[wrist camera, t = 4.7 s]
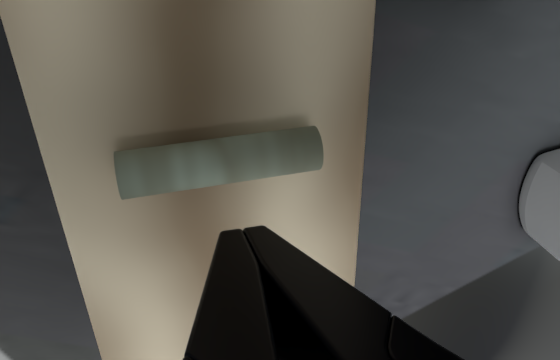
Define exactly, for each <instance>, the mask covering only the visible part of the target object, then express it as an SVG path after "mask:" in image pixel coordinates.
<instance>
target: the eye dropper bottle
mask: <svg viewBox="0 0 560 360" xmlns="http://www.w3.org/2000/svg"><path fill="white" fill-rule="evenodd" d="M519 215H520V220H521V224H522V226H523V228H524V230H525V232H526V233H527V234H528V235H529V236H531V237H532V238H533V239H534V240H535V241H536V242H538V243H539V244H540V245H541V246H542V247H544V248H545V249H546V250H547V251H548V252H550V253H551V254H552V255H553V256H554V257H555V258H556V259H558V260H559V261H560V149H557V150H553V151H549V152H546V153H543V154H541V155H539V156H538V157H537V158H536V159H535V160H534V161H533V163H532V165H531V166H530V168H529V170H528V173H527V175H526V177H525V180H524V182H523V185H522V189H521V193H520V198H519Z"/></svg>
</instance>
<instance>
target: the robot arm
mask: <svg viewBox="0 0 560 360" xmlns="http://www.w3.org/2000/svg"><path fill="white" fill-rule="evenodd" d="M183 360H464V359H462V358H461V357H459V356H458V355H456V354H454V353H452V352H451V351H449V350H447V349H446V348H444V347H442V346H441V345H439V344H437V343H436V342H434V341H433V340H431V339H430V338H428V337H427V336H425V335H424V334H422V333H420V332H419V331H417V330H416V329H414V328H413V327H411V326H410V325H408V324H407V323H406V322H404V321H403V320H401V319H400V318H398V317H397V316H392V313H391V312H389V311H388V310H386V309H385V308H383V307H382V306H381V305H379V304H378V303H376V302H375V301H373V300H372V299H370V298H369V297H368V296H366V295H365V294H363V293H362V292H360V291H359V290H357V289H356V288H354V287H353V286H352V285H350V284H349V283H347V282H346V281H344V280H343V279H341V278H340V277H339V276H337V275H336V274H334V273H333V272H331V271H330V270H328V269H327V268H325V267H324V266H323V265H321V264H320V263H318V262H317V261H315V260H314V259H312V258H311V257H309V256H308V255H307V254H305V253H304V252H302V251H301V250H299V249H298V248H296V247H295V246H294V245H292V244H291V243H289V242H288V241H286V240H285V239H283V238H282V237H280V236H279V235H278V234H276V233H275V232H273V231H272V230H270V229H269V228H267V227H266V226H263V225H261V226H254V227H246V228H244V229H243V231H242V230H241V229H232V230H224V231H221V232H220V233H219V236H218V240H217V243H216V247H215V250H214V254H213V257H212V260H211V264H210V267H209V271H208V274H207V278H206V281H205V285H204V288H203V292H202V295H201V298H200V302H199V305H198V309H197V312H196V316H195V319H194V323H193V326H192V330H191V333H190V336H189V340H188V343H187V347H186V350H185V354H184V358H183Z"/></svg>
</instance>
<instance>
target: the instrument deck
mask: <svg viewBox="0 0 560 360" xmlns="http://www.w3.org/2000/svg"><path fill="white" fill-rule="evenodd" d="M375 5H376V0H0V16H1V19H2V23H3V26H4V30H5V33H6V36H7V40H8V43H9V46H10V50H11V53H12V57H13V60H14V63H15V67H16V70H17V73H18V77H19V80H20V84H21V87H22V90H23V94H24V97H25V101H26V104H27V107H28V111H29V114H30V117H31V121H32V124H33V128H34V131H35V134H36V138H37V141H38V144H39V148H40V151H41V155H42V158H43V161H44V165H45V168H46V171H47V175H48V178H49V182H50V185H51V188H52V192H53V195H54V199H55V202H56V205H57V209H58V212H59V215H60V219H61V222H62V226H63V229H64V232H65V236H66V239H67V242H68V246H69V249H70V253H71V256H72V259H73V263H74V266H75V269H76V273H77V276H78V280H79V283H80V286H81V290H82V293H83V297H84V300H85V303H86V307H87V310H88V313H89V317H90V320H91V324H92V327H93V330H94V334H95V337H96V340H97V344H98V347H99V351H100V354H101V357H102V360H183V358H184V354H185V350H186V347H187V343H188V340H189V336H190V333H191V330H192V326H193V323H194V319H195V316H196V312H197V309H198V305H199V302H200V298H201V295H202V292H203V288H204V285H205V281H206V278H207V274H208V271H209V267H210V264H211V260H212V257H213V254H214V250H215V247H216V243H217V240H218V236H219V233H220V232H221V231H224V230H232V229H241V230H242V231H243V229H244V228H246V227H254V226H261V225H263V226H266V227H267V228H269V229H270V230H272V231H273V232H275V233H276V234H278V235H279V236H280V237H282V238H283V239H285V240H286V241H288V242H289V243H291V244H292V245H294V246H295V247H296V248H298V249H299V250H301V251H302V252H304V253H305V254H307V255H308V256H309V257H311V258H312V259H314V260H315V261H317V262H318V263H320V264H321V265H323V266H324V267H325V268H327V269H328V270H330V271H331V272H333V273H334V274H336V275H337V276H339V277H340V278H341V279H343V280H344V281H346V282H347V283H349V284H350V285H352V286H353V287H354V284H355V270H356V257H357V244H358V230H359V217H360V204H361V191H362V177H363V164H364V151H365V138H366V124H367V111H368V98H369V85H370V71H371V58H372V45H373V32H374V18H375Z"/></svg>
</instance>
